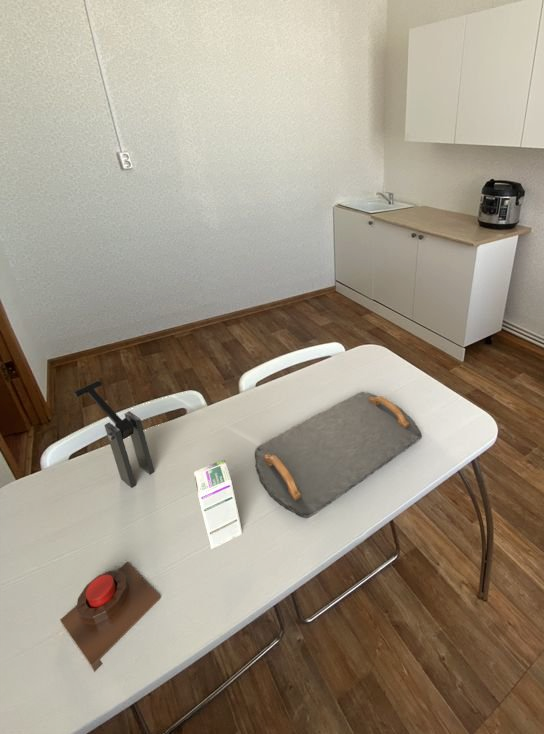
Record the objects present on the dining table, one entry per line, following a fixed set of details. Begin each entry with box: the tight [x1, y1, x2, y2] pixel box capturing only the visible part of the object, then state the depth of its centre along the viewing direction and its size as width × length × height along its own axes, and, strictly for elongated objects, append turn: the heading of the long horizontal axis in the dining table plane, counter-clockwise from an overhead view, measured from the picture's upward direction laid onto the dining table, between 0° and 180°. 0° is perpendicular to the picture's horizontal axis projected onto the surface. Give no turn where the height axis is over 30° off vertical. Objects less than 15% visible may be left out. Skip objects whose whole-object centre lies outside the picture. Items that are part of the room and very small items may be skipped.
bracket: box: [103, 410, 155, 489], centre depth 81 cm, size 10×8×16 cm
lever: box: [73, 379, 134, 440], centre depth 81 cm, size 16×5×2 cm, turn 57°
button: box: [86, 575, 116, 607], centre depth 60 cm, size 4×4×2 cm
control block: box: [59, 561, 161, 673], centre depth 59 cm, size 10×10×4 cm
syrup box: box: [193, 459, 243, 550], centre depth 70 cm, size 6×6×14 cm
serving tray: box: [254, 391, 423, 519], centre depth 89 cm, size 39×23×6 cm, turn 129°
